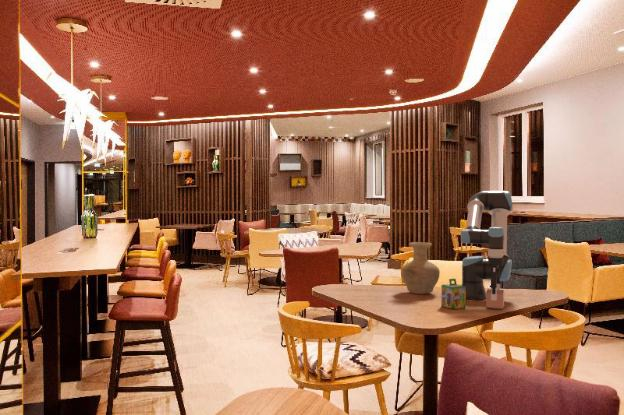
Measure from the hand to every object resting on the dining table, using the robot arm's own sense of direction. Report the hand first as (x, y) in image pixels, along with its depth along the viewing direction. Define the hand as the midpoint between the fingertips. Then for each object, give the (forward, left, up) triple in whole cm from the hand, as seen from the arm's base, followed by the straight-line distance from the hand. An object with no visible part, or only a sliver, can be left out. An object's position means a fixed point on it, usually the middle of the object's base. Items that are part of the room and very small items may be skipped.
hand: (495, 298), depth 274 cm
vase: (-45, +25, -5) cm, 52 cm away
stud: (0, 0, -5) cm, 5 cm away
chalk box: (-20, -7, -5) cm, 22 cm away
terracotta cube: (0, 0, -4) cm, 4 cm away
